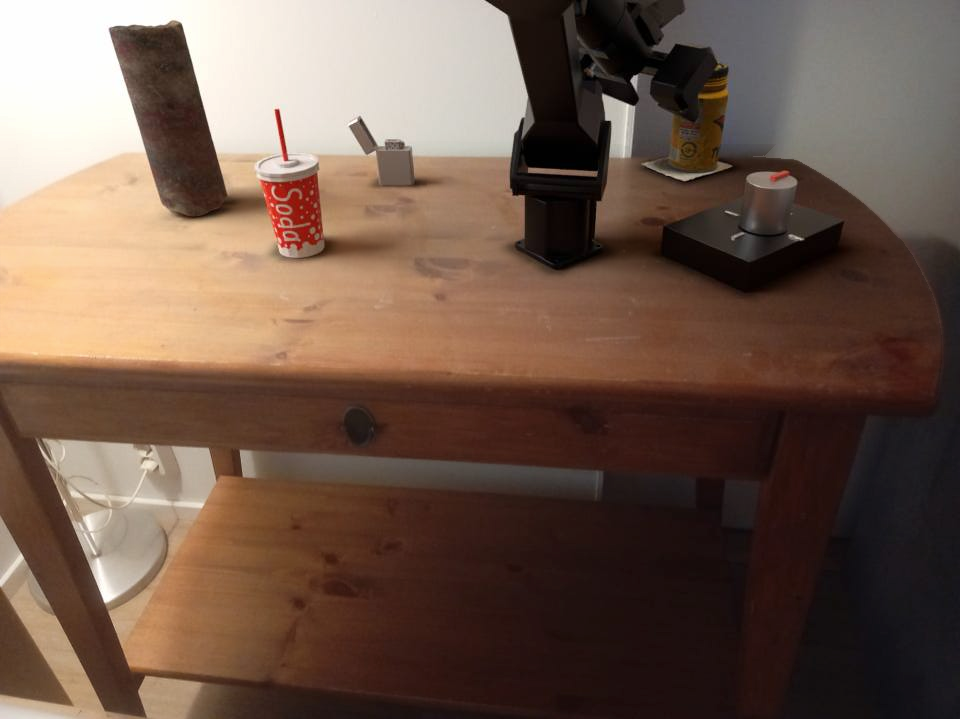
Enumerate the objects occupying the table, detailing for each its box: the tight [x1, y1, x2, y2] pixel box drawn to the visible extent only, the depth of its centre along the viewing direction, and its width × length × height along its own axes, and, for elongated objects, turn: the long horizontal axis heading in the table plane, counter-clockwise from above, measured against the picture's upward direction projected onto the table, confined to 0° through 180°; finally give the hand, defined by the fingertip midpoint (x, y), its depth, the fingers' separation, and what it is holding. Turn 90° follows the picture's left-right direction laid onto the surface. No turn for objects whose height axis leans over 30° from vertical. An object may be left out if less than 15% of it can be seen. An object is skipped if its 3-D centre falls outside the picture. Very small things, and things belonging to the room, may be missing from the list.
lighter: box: [347, 115, 416, 186], centre depth 89 cm, size 7×2×8 cm, turn 85°
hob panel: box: [659, 195, 845, 293], centre depth 71 cm, size 14×10×3 cm
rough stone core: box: [108, 19, 228, 217], centre depth 81 cm, size 8×7×20 cm
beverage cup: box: [254, 108, 326, 259], centre depth 72 cm, size 6×6×14 cm
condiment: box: [642, 61, 733, 182], centre depth 89 cm, size 7×8×12 cm
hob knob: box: [739, 170, 798, 235], centre depth 68 cm, size 4×4×5 cm
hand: (664, 110), depth 85 cm, fingers open, 9 cm apart
